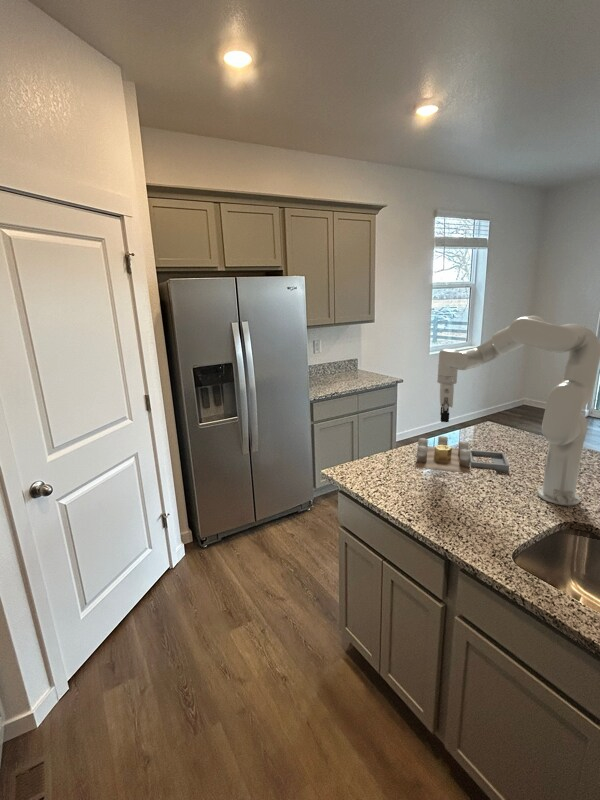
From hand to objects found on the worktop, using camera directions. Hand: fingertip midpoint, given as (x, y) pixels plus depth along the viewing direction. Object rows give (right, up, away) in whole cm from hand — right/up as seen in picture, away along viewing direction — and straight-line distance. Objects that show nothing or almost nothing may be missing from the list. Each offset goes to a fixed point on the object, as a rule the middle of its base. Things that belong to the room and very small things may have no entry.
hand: (444, 418), depth 165 cm
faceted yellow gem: (+1, -18, +4) cm, 18 cm away
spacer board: (+1, -19, +5) cm, 19 cm away
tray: (+18, -19, 0) cm, 27 cm away
